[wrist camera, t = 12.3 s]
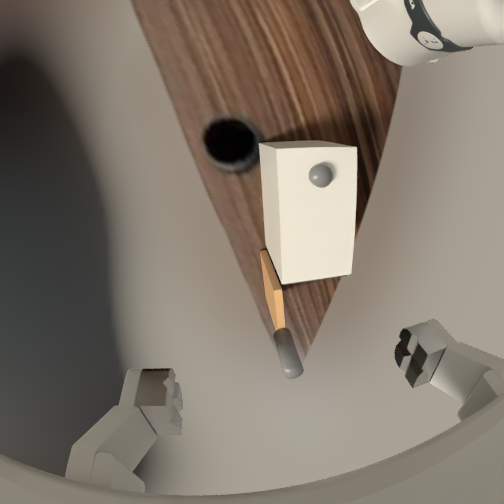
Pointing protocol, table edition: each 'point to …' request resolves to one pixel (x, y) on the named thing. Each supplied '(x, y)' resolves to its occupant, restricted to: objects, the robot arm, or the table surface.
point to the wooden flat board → (280, 321)
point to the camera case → (309, 208)
